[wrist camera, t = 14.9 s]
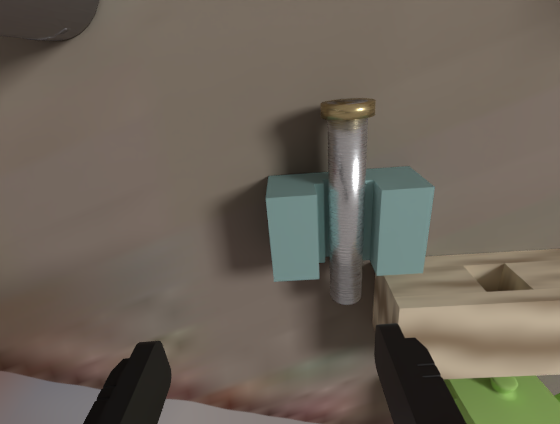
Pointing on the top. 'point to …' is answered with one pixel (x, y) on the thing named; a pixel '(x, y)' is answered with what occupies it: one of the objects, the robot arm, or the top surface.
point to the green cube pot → (505, 400)
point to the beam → (479, 312)
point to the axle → (346, 193)
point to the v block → (377, 222)
